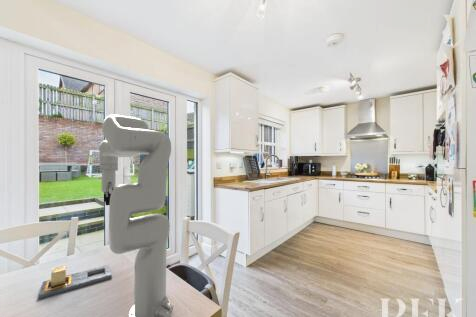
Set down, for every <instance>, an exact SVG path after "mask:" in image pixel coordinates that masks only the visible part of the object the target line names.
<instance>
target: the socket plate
mask: <svg viewBox="0 0 476 317" xmlns="http://www.w3.org/2000/svg"><path fill="white" fill-rule="evenodd" d="M110 266H111V265H110V264H106V265H103V266H99V267H95V268H91V269H87V270H83V271H79V272H75V273H72V274H68V275H67V274H66V285H62V286H59V287H55V288H51V279H48V280H45V281H43V282H42V284H41V287H40V290H39V293H38V300H42V299H45V298H48V297H49V298H50V297H52V296H55V295H59V294H62V293H66V292H69V291H72V290H76V289H79V288H82V287H86V286H89V285H93V284H97V283H101V282H103V281H107V280H111V279H113V277H112V270H111V267H110ZM103 272H104V274H101V275H97V276H94V277H91V278H90V277H89V276H92V275H96V274H100V273H103ZM67 282H68V283H67Z"/></svg>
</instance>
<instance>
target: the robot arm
mask: <svg viewBox="0 0 476 317" xmlns="http://www.w3.org/2000/svg"><path fill="white" fill-rule="evenodd" d="M101 128H102V134H103V138H105V140H103V141H101V142H100V143H99V145H98V146H99V147H98V150H99V172H101V186H100V188H101V190H100V191H101V192H102V193H103V202H104V203H105V206H109V212H108V215H109V216H108V245H109V249H110V251H111V252H112V253H113V254H115V255H121V254H126V253H129V252H132V251H136V250H138V251H137V253H136V256H135V260H134V288H133V289H134V290H133V292H134V293H133V294H134V295H133V296H134V298H133V299H134V304H133V305H132V307H131V308H130V310H129V312H128V317H171V312H172V311H173V309H174V306H173V305H172V303H171V300H170V299H169V297H167V250H168V240H169V235H170V229H171V227H170V226H171V225H170V224H171V223H170V220H169V218H168V217H167V215H165V214H163V213H149V212H155V211H159V210H161V209H162V208H163V207H164V206H165V204H166V198H167V176H168V175H167V174H168V171H167V170H168V164H169V161H170V157H171V154H172V142H171V139H170V137H169V136H168V134H167V133H165V132H163V131H160V130H153V129H149V125H148V124H147V122H146V121H145V120H143V119H141V118H139V117H138V118H137V117H133V116H126V115H120V114H110V115H108V116H106V117H105V119H104V120H103V122H102V126H101ZM135 155H147V156H145V158H144V159H143V160H142V161H141V163H140V164H139V166H138V175H137V176H138V178H137V181H136V182H131V183H121V184H118V185H116V172H118V171H119V158H132V157H133V156H135ZM144 213H149V214H144ZM139 214H144V215H140V216H135V217H132V216H134V215H139Z"/></svg>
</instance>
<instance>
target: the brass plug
mask: <svg viewBox="0 0 476 317" xmlns="http://www.w3.org/2000/svg"><path fill="white" fill-rule="evenodd" d="M50 276H51V277H50V280H51V286H50V289H51V288H55V287H59V286H62V285H66V284H67V282H66V276H67V265H62V266H59V267H53V268H52V270H51V274H50Z"/></svg>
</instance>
